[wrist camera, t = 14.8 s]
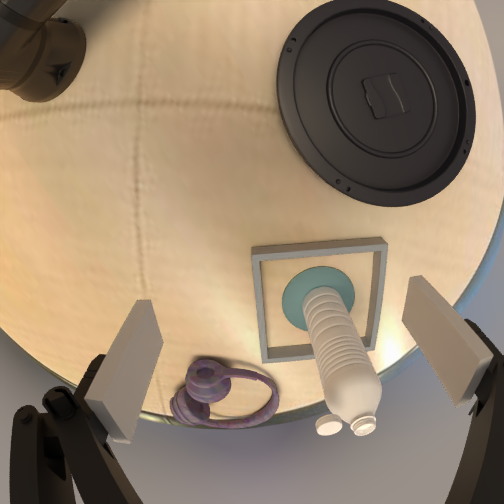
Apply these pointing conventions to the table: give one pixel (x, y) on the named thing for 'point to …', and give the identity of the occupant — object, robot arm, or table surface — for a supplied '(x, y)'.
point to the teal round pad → (308, 282)
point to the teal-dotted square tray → (311, 251)
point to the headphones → (216, 395)
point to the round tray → (376, 101)
